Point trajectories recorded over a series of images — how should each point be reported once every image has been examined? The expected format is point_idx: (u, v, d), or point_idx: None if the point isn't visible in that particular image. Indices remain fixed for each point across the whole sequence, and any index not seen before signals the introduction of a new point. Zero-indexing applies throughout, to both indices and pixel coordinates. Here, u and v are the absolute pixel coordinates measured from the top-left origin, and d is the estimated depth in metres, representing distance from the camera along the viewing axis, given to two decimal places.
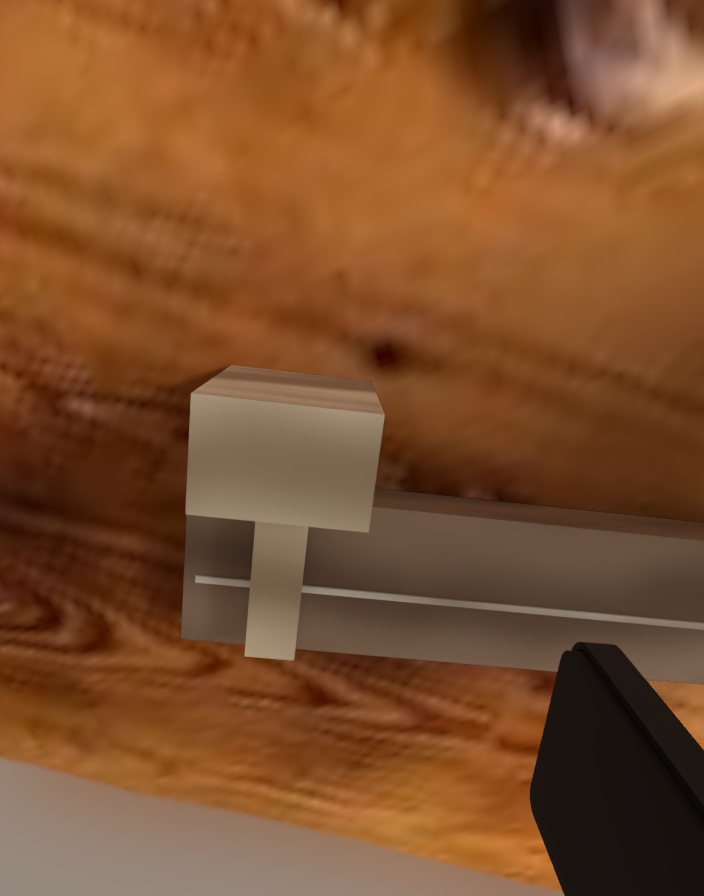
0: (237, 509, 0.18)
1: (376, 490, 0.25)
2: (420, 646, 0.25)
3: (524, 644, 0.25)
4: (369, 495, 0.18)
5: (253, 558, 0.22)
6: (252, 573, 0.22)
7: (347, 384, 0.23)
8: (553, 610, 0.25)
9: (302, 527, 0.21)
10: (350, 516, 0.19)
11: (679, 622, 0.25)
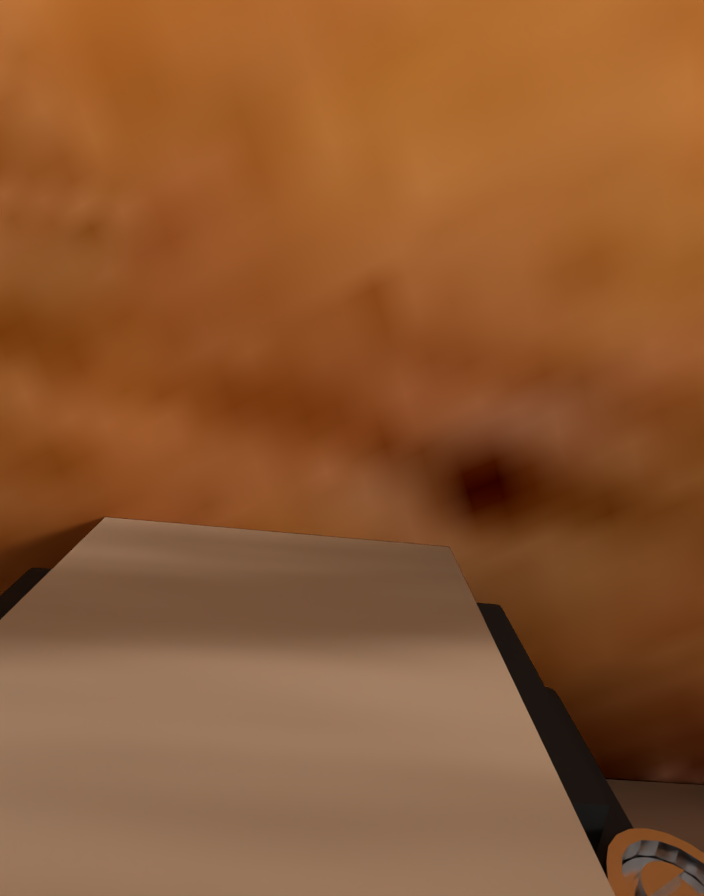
0: None
1: None
2: None
3: None
4: None
5: None
6: None
7: (402, 589, 0.08)
8: None
9: None
10: None
11: None
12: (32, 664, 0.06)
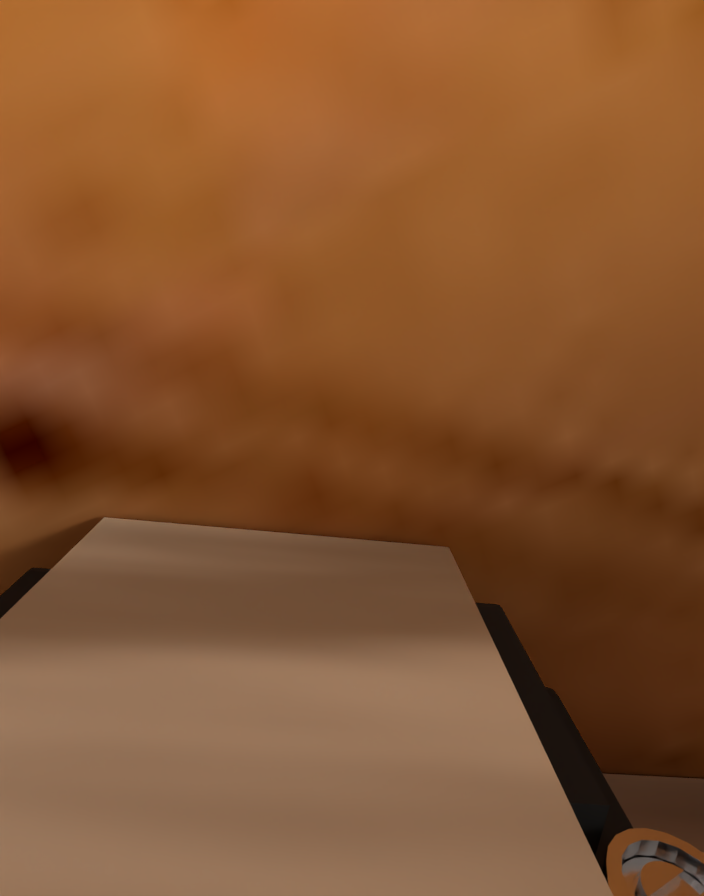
0: None
1: None
2: None
3: None
4: None
5: None
6: None
7: (401, 590, 0.08)
8: None
9: None
10: None
11: None
12: (31, 664, 0.06)
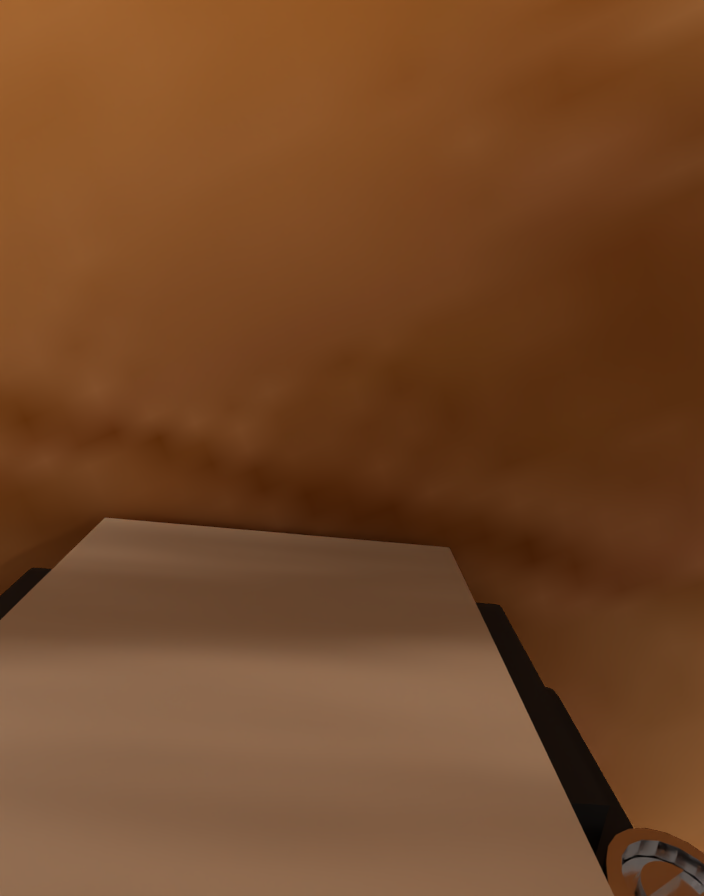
0: None
1: None
2: None
3: None
4: None
5: None
6: None
7: (401, 590, 0.08)
8: None
9: None
10: None
11: None
12: (31, 665, 0.06)
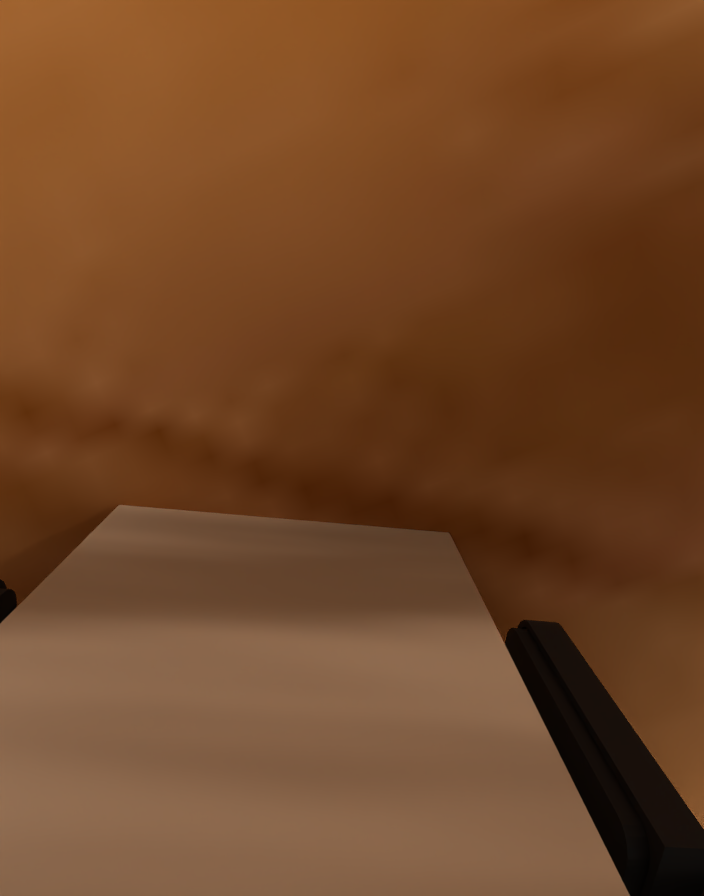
0: None
1: None
2: None
3: None
4: None
5: None
6: None
7: (404, 571, 0.09)
8: None
9: None
10: None
11: None
12: (60, 635, 0.06)
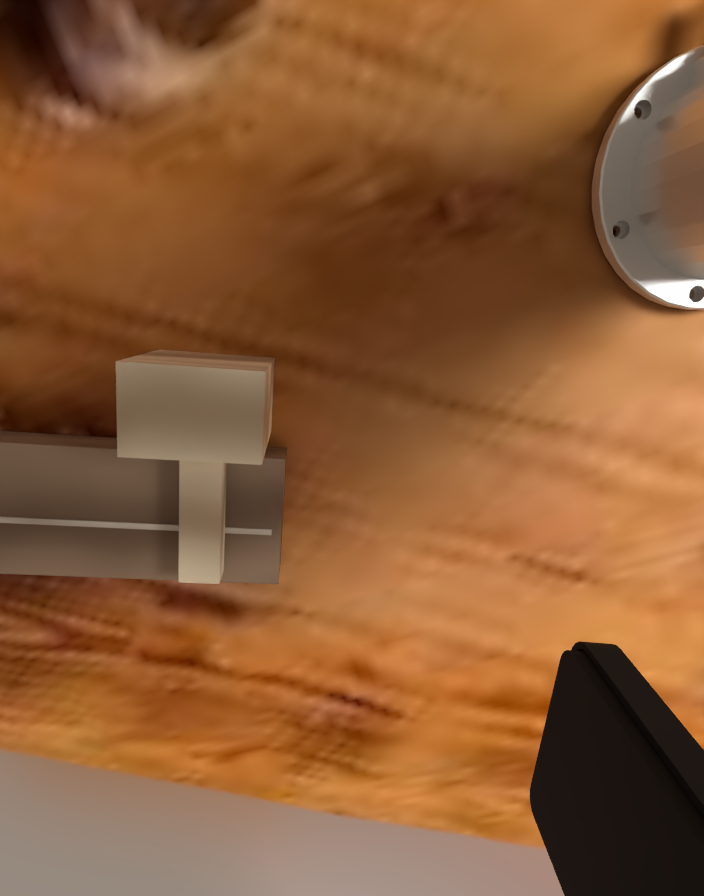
0: (158, 451, 0.24)
1: None
2: (15, 562, 0.29)
3: (108, 555, 0.29)
4: (259, 435, 0.24)
5: (180, 499, 0.27)
6: (180, 511, 0.27)
7: (251, 358, 0.28)
8: (125, 523, 0.29)
9: (217, 471, 0.27)
10: (246, 452, 0.24)
11: (238, 529, 0.30)
12: (154, 356, 0.26)
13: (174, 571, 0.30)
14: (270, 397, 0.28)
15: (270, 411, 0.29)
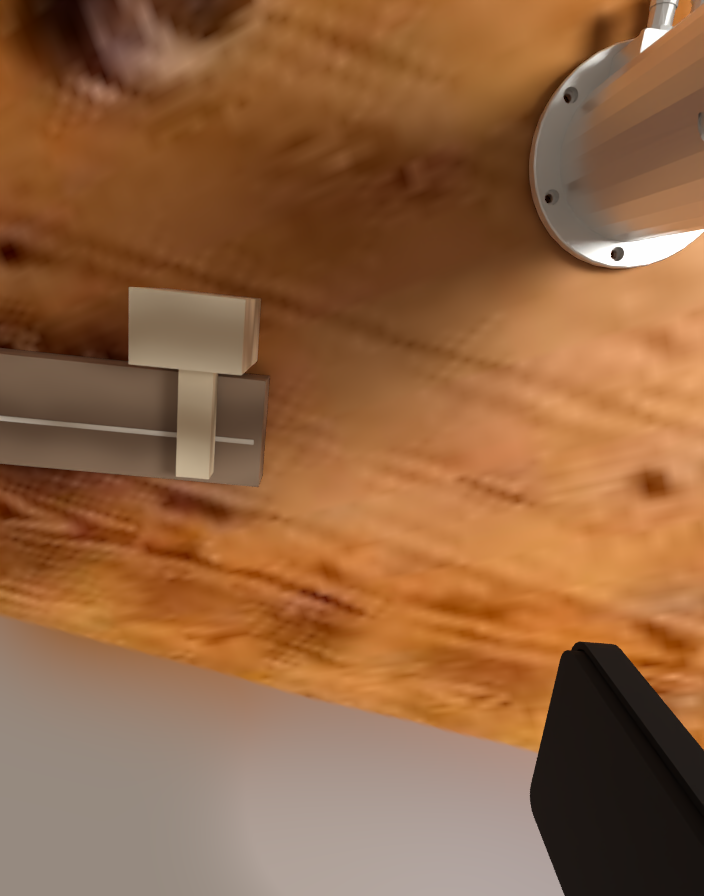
0: (160, 360, 0.30)
1: (16, 350, 0.36)
2: (46, 457, 0.36)
3: (120, 455, 0.36)
4: (240, 350, 0.30)
5: (178, 407, 0.34)
6: (178, 417, 0.34)
7: None
8: (135, 429, 0.36)
9: (209, 385, 0.33)
10: (229, 364, 0.30)
11: (226, 438, 0.36)
12: None
13: (173, 471, 0.37)
14: (254, 328, 0.34)
15: (255, 341, 0.35)
